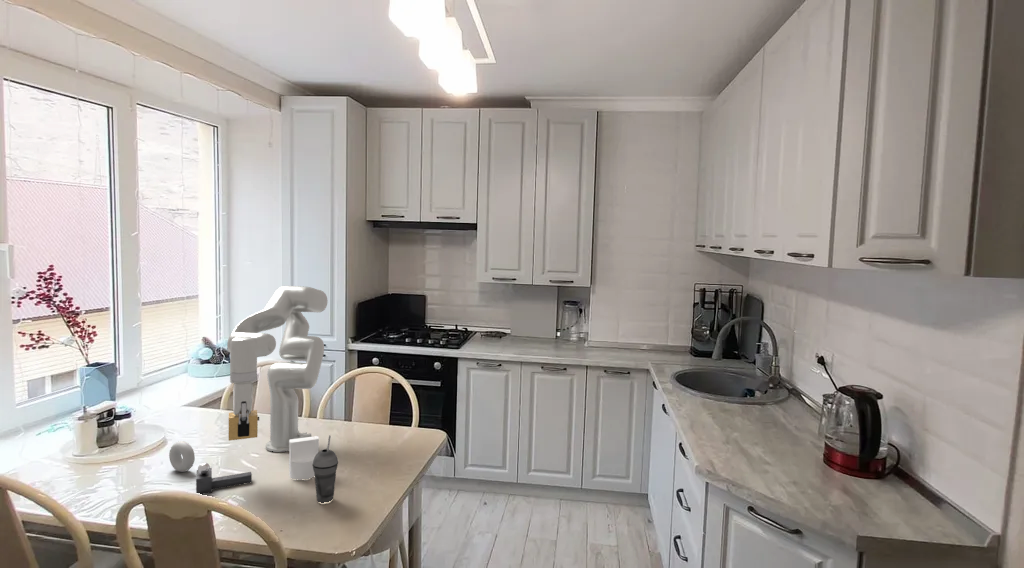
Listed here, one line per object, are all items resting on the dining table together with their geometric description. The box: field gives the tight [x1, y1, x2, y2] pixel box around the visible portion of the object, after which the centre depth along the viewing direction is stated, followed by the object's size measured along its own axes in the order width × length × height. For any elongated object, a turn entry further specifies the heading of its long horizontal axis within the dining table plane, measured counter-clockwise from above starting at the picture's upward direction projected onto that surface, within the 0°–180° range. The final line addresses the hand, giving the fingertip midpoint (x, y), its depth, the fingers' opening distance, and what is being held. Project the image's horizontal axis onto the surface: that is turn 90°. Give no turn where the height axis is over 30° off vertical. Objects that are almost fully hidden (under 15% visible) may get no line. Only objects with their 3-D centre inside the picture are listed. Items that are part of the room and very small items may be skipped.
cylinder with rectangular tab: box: [288, 435, 320, 481], centre depth 174 cm, size 9×9×12 cm
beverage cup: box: [312, 434, 339, 503], centre depth 157 cm, size 7×7×20 cm
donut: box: [168, 440, 196, 473], centre depth 174 cm, size 10×4×10 cm, turn 66°
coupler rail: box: [195, 462, 253, 495], centre depth 165 cm, size 15×7×8 cm, turn 119°
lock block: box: [228, 409, 260, 442], centre depth 167 cm, size 9×6×7 cm
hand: (243, 432), depth 167 cm, fingers closed on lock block, 6 cm apart
